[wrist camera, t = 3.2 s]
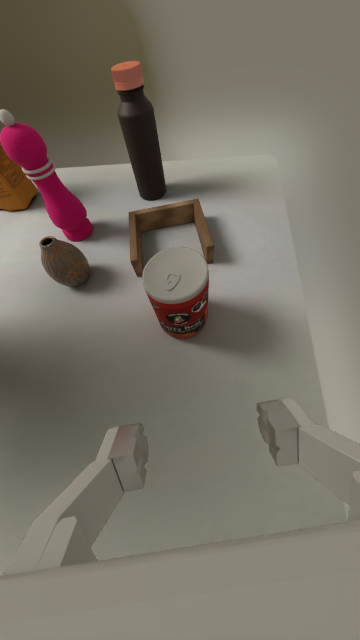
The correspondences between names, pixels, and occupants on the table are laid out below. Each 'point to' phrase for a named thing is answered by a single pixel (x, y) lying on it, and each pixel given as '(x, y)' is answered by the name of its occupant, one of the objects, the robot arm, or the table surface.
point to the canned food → (178, 290)
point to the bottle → (139, 130)
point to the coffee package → (14, 185)
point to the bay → (165, 218)
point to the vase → (64, 262)
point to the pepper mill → (44, 177)
